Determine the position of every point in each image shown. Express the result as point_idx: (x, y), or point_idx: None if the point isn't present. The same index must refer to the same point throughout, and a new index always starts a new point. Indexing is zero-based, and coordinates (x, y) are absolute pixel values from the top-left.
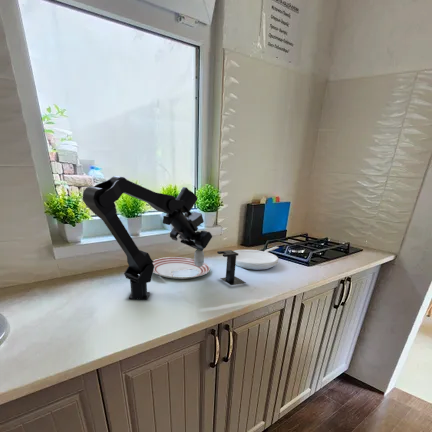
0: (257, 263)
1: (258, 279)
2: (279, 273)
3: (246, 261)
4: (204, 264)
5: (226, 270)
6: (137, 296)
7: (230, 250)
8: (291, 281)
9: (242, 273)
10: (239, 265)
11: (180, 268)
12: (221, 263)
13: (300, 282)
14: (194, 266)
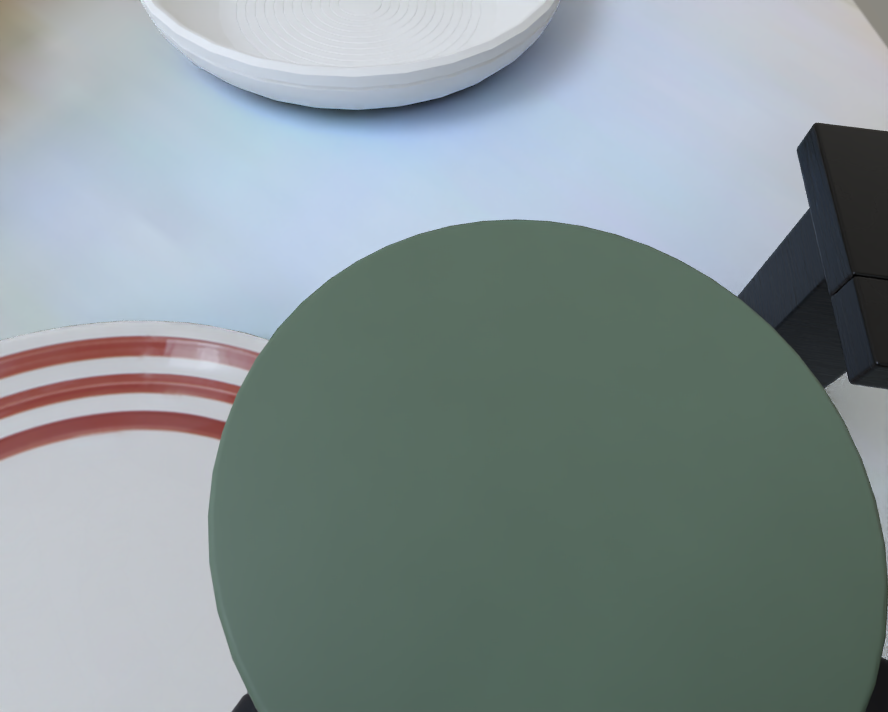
0: (538, 13)
1: (687, 166)
2: (622, 5)
3: (298, 2)
4: (200, 349)
5: None
6: None
7: (849, 142)
8: (794, 44)
9: (507, 171)
10: (405, 103)
11: (6, 660)
12: (187, 146)
13: (826, 22)
14: (105, 445)
